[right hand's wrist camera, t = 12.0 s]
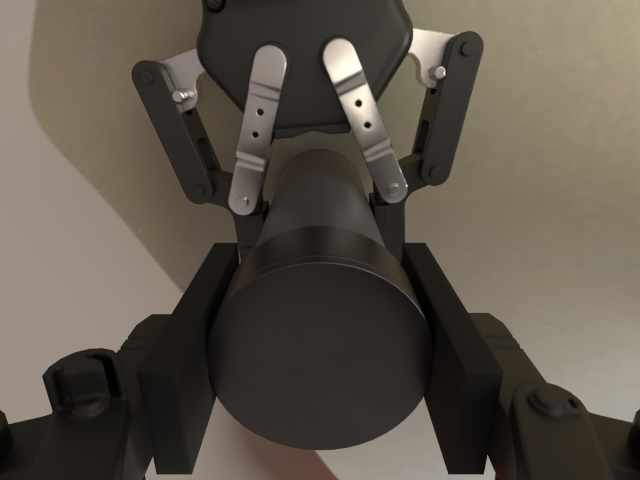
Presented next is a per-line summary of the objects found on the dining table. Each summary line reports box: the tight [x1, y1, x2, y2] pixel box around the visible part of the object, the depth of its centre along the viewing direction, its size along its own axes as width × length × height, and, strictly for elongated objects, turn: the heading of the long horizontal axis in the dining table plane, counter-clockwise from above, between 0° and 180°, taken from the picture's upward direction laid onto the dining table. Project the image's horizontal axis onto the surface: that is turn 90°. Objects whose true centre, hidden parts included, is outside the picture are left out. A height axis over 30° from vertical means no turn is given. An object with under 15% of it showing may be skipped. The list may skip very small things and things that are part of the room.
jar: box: [255, 149, 385, 248], centre depth 18 cm, size 5×5×16 cm
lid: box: [206, 226, 434, 450], centre depth 11 cm, size 6×6×2 cm
